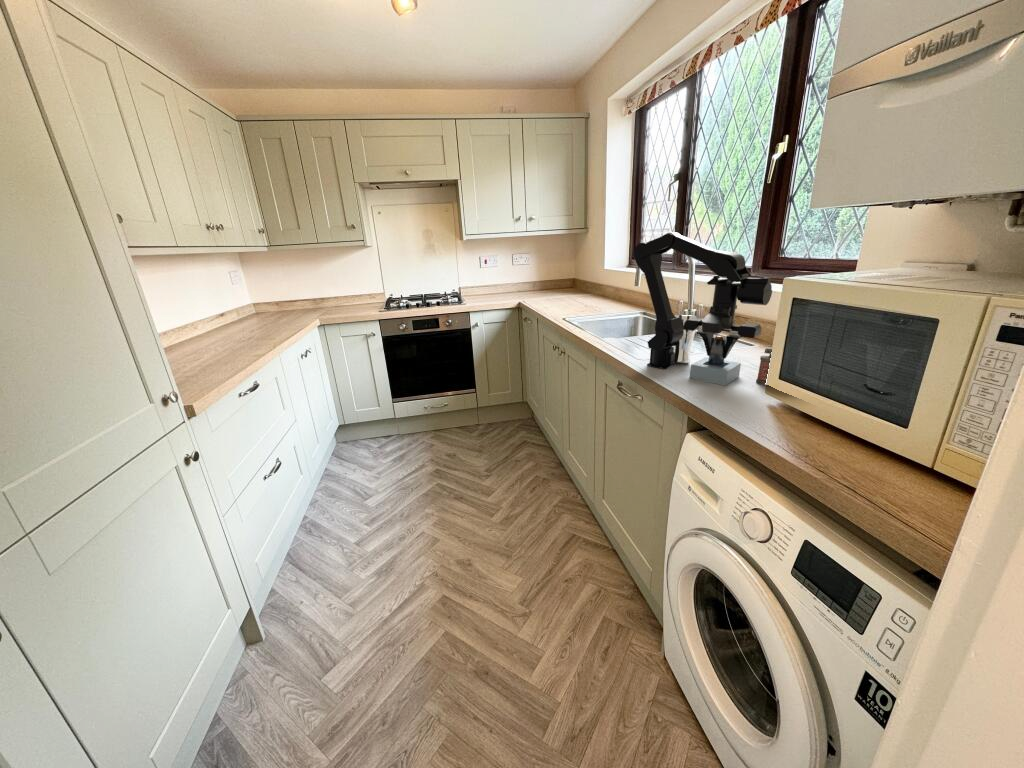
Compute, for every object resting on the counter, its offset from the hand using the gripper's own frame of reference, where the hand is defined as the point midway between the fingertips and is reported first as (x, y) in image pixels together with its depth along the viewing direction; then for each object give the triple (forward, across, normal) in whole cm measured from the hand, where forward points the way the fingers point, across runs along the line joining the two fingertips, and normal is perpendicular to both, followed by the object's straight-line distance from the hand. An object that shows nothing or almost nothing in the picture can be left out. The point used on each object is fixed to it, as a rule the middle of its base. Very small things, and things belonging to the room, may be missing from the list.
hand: (716, 356), depth 113 cm
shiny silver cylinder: (+6, -14, +7) cm, 17 cm away
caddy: (+6, 0, 0) cm, 6 cm away
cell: (+2, 0, 0) cm, 2 cm away
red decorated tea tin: (+6, +14, +4) cm, 16 cm away
